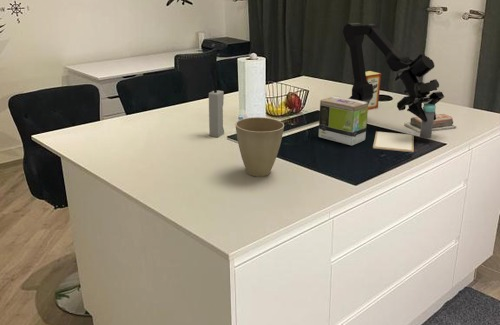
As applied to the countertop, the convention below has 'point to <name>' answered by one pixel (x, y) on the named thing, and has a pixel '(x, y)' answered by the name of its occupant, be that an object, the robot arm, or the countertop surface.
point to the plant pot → (259, 143)
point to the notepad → (394, 141)
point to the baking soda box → (374, 87)
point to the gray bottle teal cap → (427, 126)
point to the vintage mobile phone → (216, 111)
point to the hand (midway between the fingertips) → (430, 120)
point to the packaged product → (438, 124)
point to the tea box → (343, 120)
